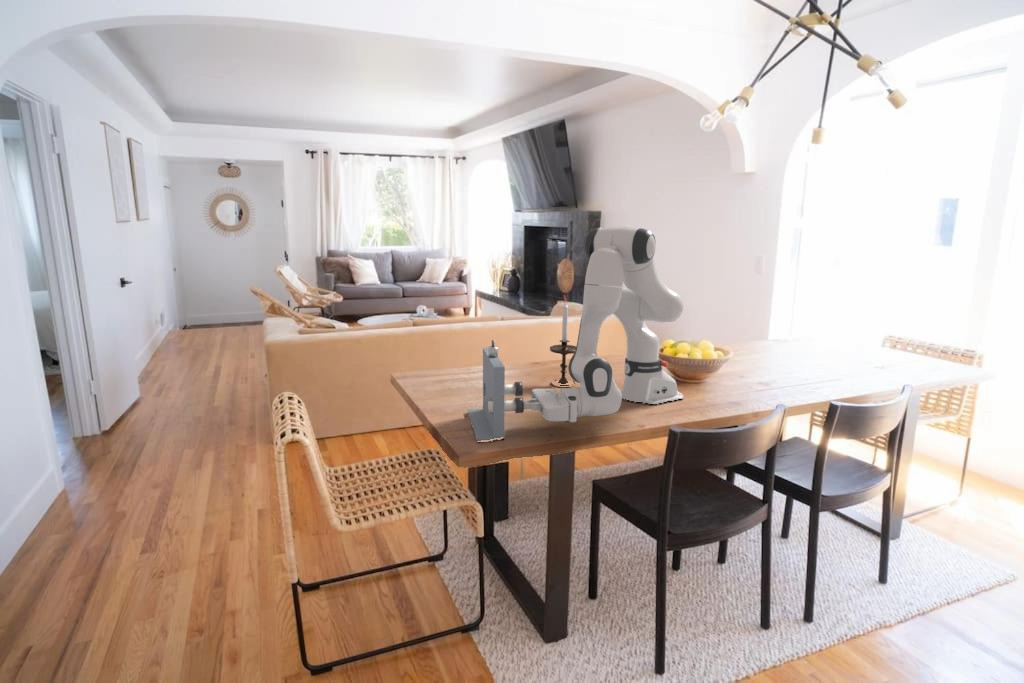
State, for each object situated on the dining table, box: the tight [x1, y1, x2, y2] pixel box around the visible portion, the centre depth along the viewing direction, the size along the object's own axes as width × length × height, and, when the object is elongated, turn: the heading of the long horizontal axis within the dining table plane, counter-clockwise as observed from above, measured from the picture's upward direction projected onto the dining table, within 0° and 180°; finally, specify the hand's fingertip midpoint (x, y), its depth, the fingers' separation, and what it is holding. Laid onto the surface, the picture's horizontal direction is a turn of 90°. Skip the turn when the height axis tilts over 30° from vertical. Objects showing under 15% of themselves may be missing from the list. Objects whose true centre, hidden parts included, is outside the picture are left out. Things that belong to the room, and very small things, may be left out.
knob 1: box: [504, 381, 524, 397], centre depth 187 cm, size 10×5×5 cm, turn 100°
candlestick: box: [549, 294, 577, 386], centre depth 221 cm, size 11×11×35 cm
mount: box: [467, 347, 506, 442], centre depth 178 cm, size 8×26×22 cm, turn 10°
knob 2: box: [488, 396, 525, 414], centre depth 171 cm, size 10×5×5 cm, turn 100°
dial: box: [487, 339, 499, 358], centre depth 175 cm, size 3×3×5 cm
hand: (522, 404), depth 172 cm, fingers closed, pressing on knob 2
